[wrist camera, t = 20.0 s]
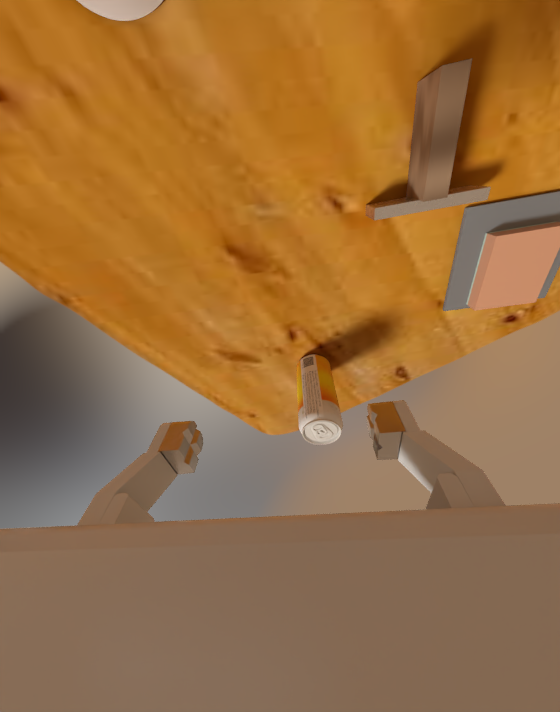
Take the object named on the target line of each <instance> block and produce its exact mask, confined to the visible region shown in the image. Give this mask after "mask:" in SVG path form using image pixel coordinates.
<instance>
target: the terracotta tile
mask: <svg viewBox="0 0 560 712" xmlns="http://www.w3.org/2000/svg"><path fill="white" fill-rule="evenodd" d="M559 248H560V222H549V223H543V224H537V225H531V226H525V227H519V228H513V229H507V230H501V231H495V232H490V233H486V234H485V238H484V241H483V245H482V249H481V252H480V256H479V260H478V263H477V267H476V271H475V274H474V278H473V282H472V285H471V289H470V292H469V296H468V300H467V303H466V304H467V305H468V306H469V307H471V308H472V309H473V310H481V309H489V308H496V307H504V306H511V305H519V304H526V303H533V302H536V300H537V298H538V296H539V293H540V291H541V289H542V287H543V284H544V282H545V280H546V278H547V275H548V273H549V271H550V269H551V266H552V264H553V262H554V259H555V257H556V255H557V253H558V250H559Z"/></svg>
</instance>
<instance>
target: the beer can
mask: <svg viewBox="0 0 560 712" xmlns="http://www.w3.org/2000/svg"><path fill="white" fill-rule="evenodd" d="M296 370H297V393H298V416H299V430H300V432H301V433H302V435H303V438H304V439H305V440H306V441H308V442H309V443H312V444H316V445H325V444H329V443H332V442H334V441H336V440H337V439H338V438H339V437H340V435H341V430H342V427H343V423H342V418H341V413H340V409H339V404H338V400H337V395H336V390H335V386H334V381H333V377H332V372H331V367H330V363H329V361H328V360H327V359H326V358H325V357H323V356H320V355H315V354H312V355H308V356H305V357H304V358H302V359H301V360H300V361H299V362H298V364H297V368H296Z"/></svg>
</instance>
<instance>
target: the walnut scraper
mask: <svg viewBox="0 0 560 712" xmlns="http://www.w3.org/2000/svg"><path fill="white" fill-rule="evenodd" d="M471 64H472V58H471V59H467V60H463V61H459V62H455V63H451V64H447V65H443V66H441V67H439V68H438V69H436V70H435V71H434V72H432V73H431V74H429V75H428V76H426V77H425V78H423V79H422V80H421V81H419V82H418V84H417V94H416V104H415V114H414V124H413V134H412V144H411V154H410V164H409V174H408V184H407V194H406V197H404V198H399V199H394V200H389V201H383V202H378V203H373V204H367V205H366V216H368V217H369V218H371V219H373V220H378V219H384V218H389V217H395V216H400V215H406V214H411V213H417V212H422V211H428V210H433V209H439V208H445V207H450V206H456V205H461V204H467V203H472V202H478V201H483V200H487V199H488V195H489V191H490V188H491V187H487V186H472V185H468V186H463V187H458V188H452V189H449V186H450V180H451V175H452V169H453V163H454V158H455V152H456V147H457V141H458V136H459V130H460V125H461V119H462V114H463V108H464V102H465V97H466V91H467V86H468V80H469V75H470V69H471Z"/></svg>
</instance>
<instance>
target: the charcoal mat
mask: <svg viewBox="0 0 560 712" xmlns="http://www.w3.org/2000/svg"><path fill="white" fill-rule="evenodd" d="M549 222H560V191H555V192H549V193H544V194H538V195H533V196H527V197H522V198H516V199H510V200H505V201H499V202H494V203H488V204H483V205H477V206H471V207H466V208H465V210H464V215H463V219H462V224H461V229H460V233H459V238H458V242H457V247H456V251H455V256H454V260H453V265H452V270H451V274H450V279H449V283H448V288H447V292H446V297H445V301H444V306H443V310H444V311H448V310H456V309H463V308H471V307H469V306H468V305H467V304H466V303H467V300H468V296H469V292H470V289H471V285H472V282H473V278H474V274H475V271H476V267H477V263H478V260H479V256H480V252H481V249H482V245H483V241H484V238H485V234H486V233H490V232H495V231H501V230H507V229H513V228H519V227H525V226H531V225H537V224H543V223H549ZM559 266H560V248H559V250H558V253H557V255H556V257H555V259H554V262H553V264H552V266H551V269H550V271H549V273H548V275H547V278H546V280H545V282H544V284H543V287H542V289H541V291H540V293H539V296H538V298H544V297H545V296H546V294H547V292H548V290H549V288H550V285H551V283H552V281H553V279H554V277H555V275H556V272H557V270H558V268H559Z"/></svg>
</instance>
